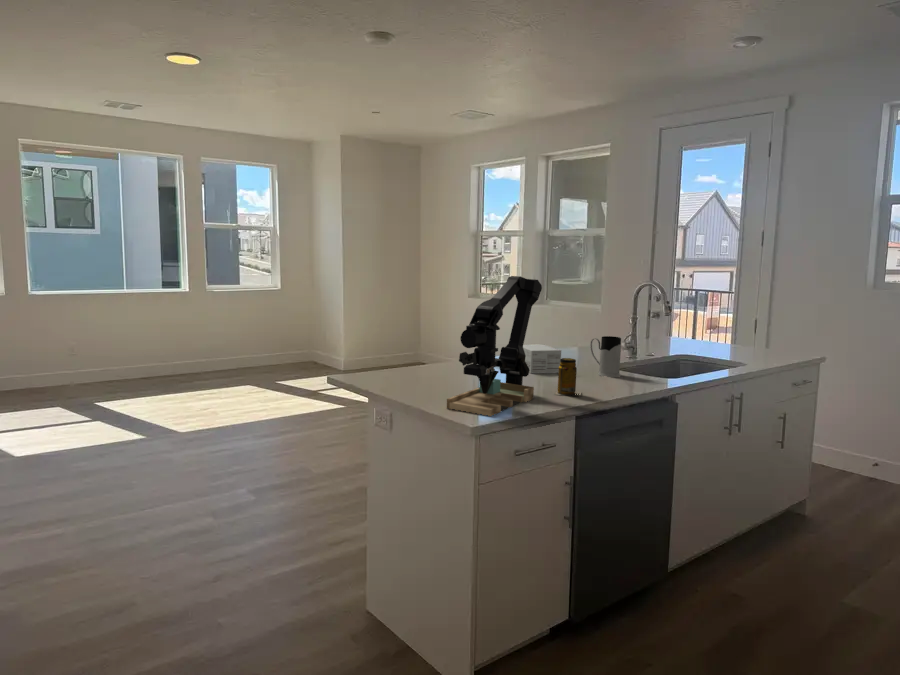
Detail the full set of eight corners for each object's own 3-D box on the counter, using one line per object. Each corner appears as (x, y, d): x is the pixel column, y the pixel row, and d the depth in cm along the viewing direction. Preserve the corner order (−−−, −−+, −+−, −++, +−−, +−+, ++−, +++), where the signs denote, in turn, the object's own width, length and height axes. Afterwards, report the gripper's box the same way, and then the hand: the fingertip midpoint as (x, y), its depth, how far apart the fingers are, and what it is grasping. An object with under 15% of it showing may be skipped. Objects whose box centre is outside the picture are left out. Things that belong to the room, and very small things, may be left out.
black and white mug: (611, 378, 248) (613, 339, 246) (582, 371, 259) (584, 335, 257) (624, 375, 253) (627, 338, 251) (596, 369, 264) (598, 333, 262)
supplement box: (561, 373, 256) (562, 350, 254) (530, 374, 252) (531, 350, 251) (543, 365, 272) (544, 343, 270) (514, 366, 268) (515, 344, 267)
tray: (489, 392, 217) (490, 380, 216) (533, 399, 208) (533, 387, 208) (446, 408, 193) (446, 395, 192) (493, 416, 185) (494, 403, 184)
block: (486, 389, 211) (487, 377, 211) (500, 391, 209) (500, 379, 208) (479, 392, 207) (479, 380, 207) (493, 394, 205) (493, 382, 204)
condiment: (557, 390, 223) (559, 356, 221) (582, 393, 220) (584, 358, 218) (554, 395, 216) (556, 359, 214) (580, 397, 213) (582, 362, 212)
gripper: (478, 339, 214) (476, 385, 216) (449, 345, 198) (448, 395, 200) (508, 342, 208) (506, 389, 210) (481, 349, 192) (479, 400, 194)
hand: (484, 393), depth 204 cm, fingers closed
